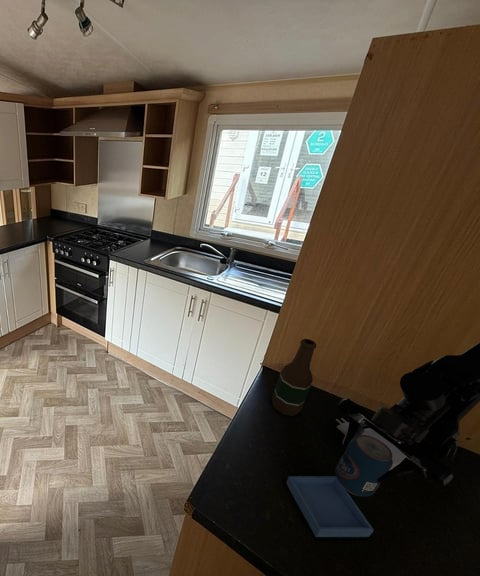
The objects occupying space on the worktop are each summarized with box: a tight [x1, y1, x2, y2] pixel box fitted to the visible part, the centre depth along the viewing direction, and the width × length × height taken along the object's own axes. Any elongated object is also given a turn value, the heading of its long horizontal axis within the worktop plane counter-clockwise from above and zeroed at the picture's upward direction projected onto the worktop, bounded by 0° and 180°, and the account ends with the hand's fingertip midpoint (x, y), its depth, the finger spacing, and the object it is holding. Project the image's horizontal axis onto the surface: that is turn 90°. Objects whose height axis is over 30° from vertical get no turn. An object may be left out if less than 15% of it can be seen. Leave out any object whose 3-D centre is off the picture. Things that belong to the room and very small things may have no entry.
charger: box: [335, 417, 409, 471], centre depth 81 cm, size 5×9×15 cm
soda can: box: [334, 435, 393, 498], centre depth 66 cm, size 7×7×12 cm
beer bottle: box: [271, 338, 317, 417], centre depth 89 cm, size 8×8×24 cm
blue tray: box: [285, 475, 375, 538], centre depth 68 cm, size 11×11×3 cm
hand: (359, 466), depth 65 cm, fingers closed on soda can, 7 cm apart
